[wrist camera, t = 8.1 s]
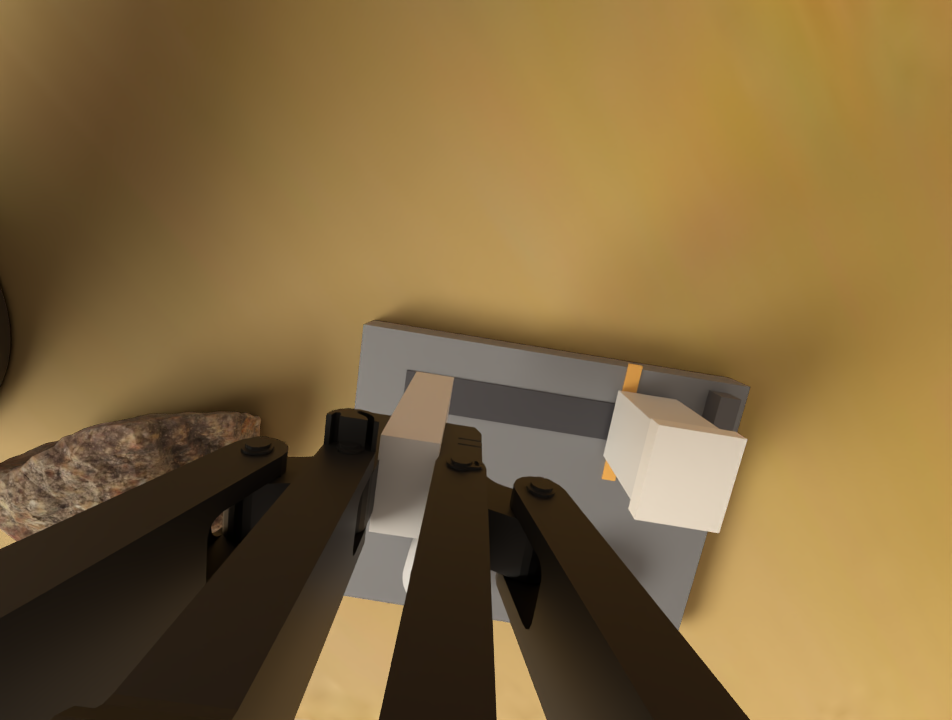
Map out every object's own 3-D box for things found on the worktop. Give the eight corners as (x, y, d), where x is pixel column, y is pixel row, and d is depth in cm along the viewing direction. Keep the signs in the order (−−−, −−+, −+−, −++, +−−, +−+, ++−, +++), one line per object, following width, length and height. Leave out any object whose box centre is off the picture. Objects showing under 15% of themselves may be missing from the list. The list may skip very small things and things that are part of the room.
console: (345, 571, 27) (317, 629, 23) (374, 316, 24) (348, 326, 20) (659, 621, 27) (692, 689, 23) (730, 374, 24) (784, 397, 20)
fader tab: (598, 458, 23) (634, 519, 17) (615, 385, 22) (658, 425, 17) (662, 468, 23) (719, 533, 17) (681, 396, 22) (747, 439, 17)
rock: (53, 401, 27) (103, 545, 29) (-159, 461, 19) (-70, 658, 21) (267, 373, 25) (306, 529, 27) (138, 426, 17) (207, 647, 19)
